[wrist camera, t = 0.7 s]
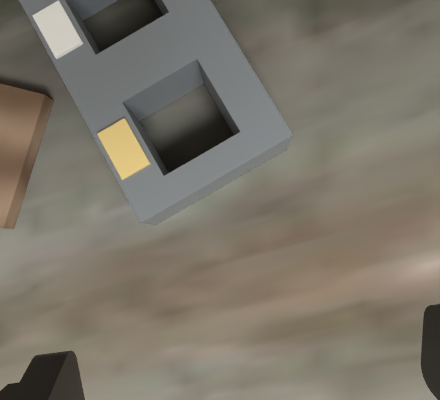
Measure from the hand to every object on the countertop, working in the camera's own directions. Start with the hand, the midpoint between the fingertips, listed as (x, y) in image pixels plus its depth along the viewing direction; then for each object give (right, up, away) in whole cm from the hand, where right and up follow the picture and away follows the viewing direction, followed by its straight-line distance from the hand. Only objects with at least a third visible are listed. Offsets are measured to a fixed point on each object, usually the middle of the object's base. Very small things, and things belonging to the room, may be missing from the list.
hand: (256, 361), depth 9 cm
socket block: (-6, +14, +26) cm, 31 cm away
